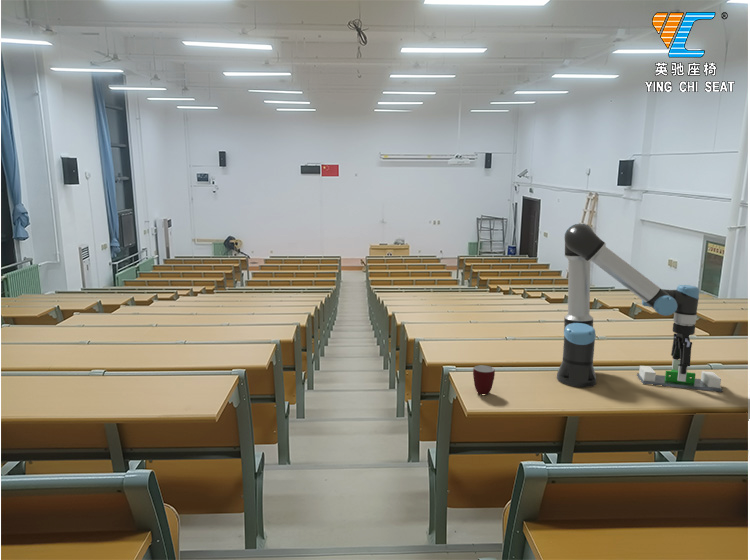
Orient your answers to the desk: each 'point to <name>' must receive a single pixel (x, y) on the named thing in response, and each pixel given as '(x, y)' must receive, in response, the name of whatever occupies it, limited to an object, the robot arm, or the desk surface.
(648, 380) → the mounting rail
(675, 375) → the pipe clamp
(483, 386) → the mug
